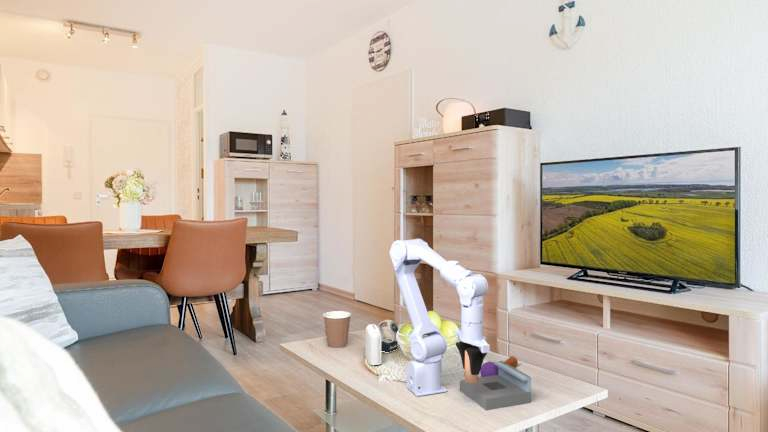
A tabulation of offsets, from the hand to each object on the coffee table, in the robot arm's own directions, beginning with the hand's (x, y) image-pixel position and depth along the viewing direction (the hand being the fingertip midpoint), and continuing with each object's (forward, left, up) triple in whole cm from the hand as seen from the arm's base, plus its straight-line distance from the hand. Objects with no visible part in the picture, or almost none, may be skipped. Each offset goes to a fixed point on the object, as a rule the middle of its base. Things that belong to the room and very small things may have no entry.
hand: (471, 371), depth 134 cm
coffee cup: (-19, +62, -10) cm, 66 cm away
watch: (-3, +51, -10) cm, 52 cm away
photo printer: (-12, +42, -10) cm, 45 cm away
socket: (+10, +3, -9) cm, 14 cm away
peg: (0, 0, -2) cm, 2 cm away
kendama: (+21, +17, -10) cm, 29 cm away
